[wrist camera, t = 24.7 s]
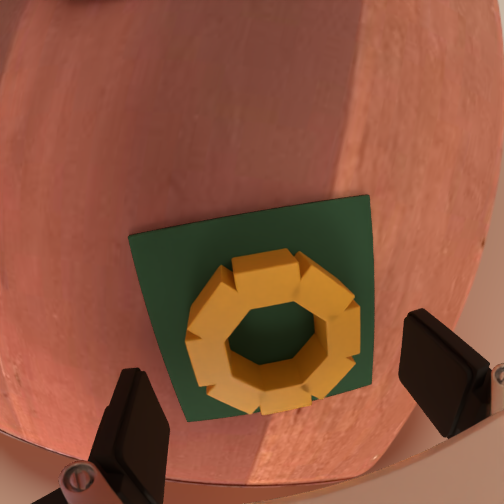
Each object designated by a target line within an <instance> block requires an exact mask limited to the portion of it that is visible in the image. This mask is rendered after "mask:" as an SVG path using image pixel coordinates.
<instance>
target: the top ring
mask: <svg viewBox="0 0 504 504" xmlns="http://www.w3.org/2000/svg"><path fill="white" fill-rule="evenodd" d="M231 261H232V268H233V272H232V271H230V270H229V269H227V268H226V267H224V266H223V265H220V266H219V267H218V269H217V270H216V272H215V273H214V274H213V276H212V277H211V279H210V280H209V281H208V283H207V284H206V286H205V287H204V288H203V290H202V291H201V293H200V294H199V295H198V297H197V298H196V300H195V301H194V303H193V304H192V305H191V308H190V313H189V319H188V325H187V331H186V337H185V344H186V347H187V351H188V354H189V357H190V361H191V364H192V367H193V370H194V373H195V376H196V380H197V383H198V385H199V387H201V386H207V392H206V394H207V395H209V396H211V397H213V398H215V399H217V400H219V401H221V402H223V403H226V404H228V405H230V406H232V407H234V408H237V409H239V410H241V411H244V412H246V413H248V414H252V413H253V412H254V411H255V410H256V409H257V408H258V407H260V411H261V415H268V414H273V413H278V412H283V411H288V410H292V409H297V408H301V407H305V406H310V405H312V397H311V395H312V396H315V397H317V398H319V399H323V398H324V397H325V396H326V395H327V394H328V393H329V392H330V391H331V390H332V389H333V388H334V387H335V386H336V385H337V384H338V383H339V381H340V380H341V379H342V378H343V377H344V376H345V375H346V374H347V373H348V372H349V371H350V370H351V369H352V367H353V366H354V365H355V364H356V362H355V361H354V359H353V358H352V356H353V355H356V354H359V353H360V306H359V305H358V304H357V303H356V302H355V301H354V300H353V299H354V298H355V295H354V294H353V293H352V292H351V291H350V290H349V289H348V288H347V287H346V286H345V285H344V284H343V283H342V282H341V281H340V280H338V279H337V278H336V277H335V276H333V275H332V274H331V273H329V272H328V271H327V270H325V269H324V268H322V267H321V266H320V265H318V264H317V263H316V262H314V261H313V260H312V259H310V258H309V257H307V256H306V255H305V254H303V253H302V252H301V251H298V252H297V253H296V255H295V256H293V255H292V254H291V253H290V251H289V250H288V249H287V248H284V249H279V250H273V251H268V252H262V253H256V254H251V255H245V256H240V257H234V258H232V260H231ZM292 301H294V302H296V303H297V304H299V305H300V306H302V307H304V308H305V309H307V310H308V311H310V312H311V313H313V317H314V329H315V333H314V334H313V336H312V337H311V338H310V339H309V340H308V341H307V343H306V344H305V345H304V346H303V347H302V348H301V349H300V351H299V352H298V353H297V354H296V355H295V356H294V357H293V358H292V359H288V360H283V361H278V362H273V363H268V364H263V365H258V364H256V363H254V362H252V361H250V360H248V359H246V358H244V357H243V356H241V355H239V354H237V353H235V352H233V351H232V350H231V349H230V345H229V341H228V337H229V336H230V335H231V333H232V332H233V331H234V330H235V328H236V327H237V326H238V325H239V323H240V322H241V321H242V319H243V318H244V317H245V316H246V314H247V313H248V312H249V310H251V309H256V308H261V307H267V306H272V305H277V304H282V303H287V302H292Z"/></svg>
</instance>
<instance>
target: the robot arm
mask: <svg viewBox="0 0 504 504" xmlns="http://www.w3.org/2000/svg"><path fill="white" fill-rule="evenodd" d="M489 365H490V363H489V362H488V361H487V360H486V359H485V358H483V357H482V356H481V355H480V354H479V353H477V352H476V351H475V350H474V349H473V348H472V347H470V346H469V345H468V344H467V343H466V342H464V341H463V340H462V339H461V338H460V337H458V336H457V335H456V334H455V333H454V332H452V331H451V330H450V329H449V328H447V327H446V326H445V325H444V324H443V323H441V322H440V321H439V320H438V319H436V318H435V317H434V316H433V315H431V314H430V313H429V312H428V311H426V310H425V309H423V308H421V309H418V310H414V311H411V312H409V313H408V315H407V317H406V318H405V319H404V327H403V338H402V348H401V356H400V365H399V372H398V375H399V379H400V381H401V383H402V384H403V385H404V387H405V388H406V389H407V390H408V392H409V393H410V394H411V396H412V397H413V398H414V400H415V401H416V402H417V403H418V405H419V406H420V407H421V409H422V410H423V411H424V413H425V414H426V415H427V417H428V418H429V419H430V421H431V422H432V423H433V425H434V426H435V427H436V429H437V430H438V431H439V433H440V434H441V435H442V436H443V437H447V438H448V440H446V441H444V442H442V443H440V444H438V445H436V446H434V447H432V448H430V449H428V450H425V451H423V452H421V453H419V454H417V455H414V456H412V457H410V458H408V459H405V460H403V461H400V462H398V463H396V464H393V465H391V466H388V467H385V468H383V469H380V470H377V471H375V472H372V473H369V474H366V475H363V476H361V477H357V478H354V479H351V480H348V481H345V482H342V483H338V484H335V485H331V486H328V487H324V488H320V489H317V490H313V491H309V492H304V493H300V494H296V495H291V496H286V497H282V498H277V499H271V500H266V501H259V502H253V503H246V504H504V363H501V364H498V365H497V366H495V367H494V368H493V370H491V369H490V368H489ZM169 435H170V427H169V423H168V421H167V419H166V417H165V415H164V412H163V410H162V408H161V406H160V404H159V402H158V399H157V397H156V395H155V393H154V390H153V388H152V386H151V383H150V381H149V378H148V376H147V374H146V372H145V371H141V370H140V369H139V368H127V369H123V370H122V371H121V374H120V377H119V379H118V382H117V385H116V388H115V390H114V393H113V396H112V399H111V401H110V404H109V406H107V407H106V409H105V411H104V414H103V417H102V420H101V423H100V425H99V428H98V431H97V434H96V437H95V440H94V443H93V446H92V449H91V452H90V456H89V459H88V461H84V460H80V461H75V462H72V463H70V464H68V465H67V466H65V467H64V469H63V470H62V471H61V473H60V475H59V485H60V488H58V489H57V490H55V491H53V492H51V493H50V494H48V495H46V496H44V497H42V498H41V499H39V500H37V501H35V502H33V503H32V504H163V497H164V486H165V474H166V464H167V454H168V444H169Z"/></svg>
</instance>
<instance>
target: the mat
mask: <svg viewBox="0 0 504 504" xmlns="http://www.w3.org/2000/svg"><path fill="white" fill-rule="evenodd" d="M128 240H129V244H130V248H131V252H132V256H133V260H134V264H135V268H136V272H137V276H138V279H139V283H140V287H141V290H142V294H143V297H144V301H145V304H146V307H147V311H148V314H149V317H150V320H151V324H152V327H153V330H154V333H155V336H156V339H157V342H158V345H159V348H160V351H161V354H162V357H163V360H164V363H165V365H166V368H167V371H168V374H169V376H170V379H171V382H172V384H173V387H174V390H175V392H176V395H177V397H178V400H179V403H180V405H181V408H182V410H183V413H184V415H185V417H186V420H187V422H193V421H202V420H211V419H218V418H226V417H233V416H239V415H245V414H248V413H246V412H244V411H241V410H239V409H237V408H234V407H232V406H230V405H228V404H226V403H223V402H221V401H219V400H217V399H215V398H213V397H211V396H209V395H207V394H206V392H207V386H201V387H199V385H198V383H197V380H196V376H195V373H194V370H193V367H192V364H191V361H190V357H189V354H188V351H187V347H186V344H185V337H186V331H187V325H188V319H189V313H190V308H191V305H192V304H193V303H194V301H195V300H196V298H197V297H198V295H199V294H200V293H201V291H202V290H203V288H204V287H205V286H206V284H207V283H208V281H209V280H210V279H211V277H212V276H213V274H214V273H215V272H216V270H217V269H218V267H219V266H220V265H223V266H224V267H226V268H227V269H229V270H230V271H232V272H233V268H232V261H231V260H232V258H234V257H240V256H245V255H251V254H256V253H262V252H268V251H273V250H279V249H284V248H287V249H288V250H289V251H290V253H291V254H292V255H293V256H295V255H296V253H297V252H298V251H301V252H302V253H303V254H305V255H306V256H307V257H309V258H310V259H312V260H313V261H314V262H316V263H317V264H318V265H320V266H321V267H322V268H324V269H325V270H327V271H328V272H329V273H331V274H332V275H333V276H335V277H336V278H337V279H338V280H340V281H341V282H342V283H343V284H344V285H345V286H346V287H347V288H348V289H349V290H350V291H351V292H352V293H353V294H354V295H355V298H354V299H353V300H354V301H355V302H356V303H357V304H358V305H359V306H360V353H359V354H356V355H353V356H352V358H353V359H354V361H355V362H356V364H355V365H354V366H353V367H352V369H351V370H350V371H349V372H348V373H347V374H346V375H345V376H344V377H343V378H342V379H341V380H340V381H339V383H338V384H337V385H336V386H335V387H334V388H333V389H332V390H331V391H330V392H329V393H328V394H327V395H326V396H325V397H329V396H333V395H337V394H340V393H344V392H347V391H351V390H354V389H357V388H361V387H364V386H367V385H370V384H372V369H373V350H374V255H373V235H372V220H371V207H370V196H369V195H359V196H352V197H345V198H338V199H331V200H324V201H318V202H311V203H304V204H298V205H292V206H285V207H279V208H273V209H267V210H261V211H255V212H249V213H243V214H238V215H232V216H226V217H221V218H215V219H210V220H204V221H199V222H193V223H188V224H183V225H178V226H172V227H167V228H162V229H157V230H152V231H147V232H142V233H137V234H133V235H129V236H128ZM314 333H315V329H314V317H313V313H311V312H310V311H308V310H307V309H305V308H304V307H302V306H300V305H299V304H297V303H296V302H294V301H292V302H287V303H282V304H277V305H272V306H267V307H261V308H256V309H251V310H249V312H248V313H247V314H246V316H245V317H244V318H243V319H242V321H241V322H240V323H239V325H238V326H237V327H236V328H235V330H234V331H233V332H232V333H231V335H230V336H229V337H228V341H229V345H230V349H231V350H232V351H233V352H235V353H237V354H239V355H241V356H243V357H244V358H246V359H248V360H250V361H252V362H254V363H256V364H258V365H263V364H268V363H273V362H278V361H283V360H288V359H292V358H293V357H294V356H295V355H296V354H297V353H298V352H299V351H300V349H301V348H302V347H303V346H304V345H305V344H306V343H307V341H308V340H309V339H310V338H311V337H312V336H313V334H314ZM311 397H312V401H313V400H318V399H319V398H317V397H315V396H312V395H311ZM325 397H324V398H325ZM257 412H261V411H260V407H258V408H257V409H256V410H255V411H254V412H253V413H257Z"/></svg>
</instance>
